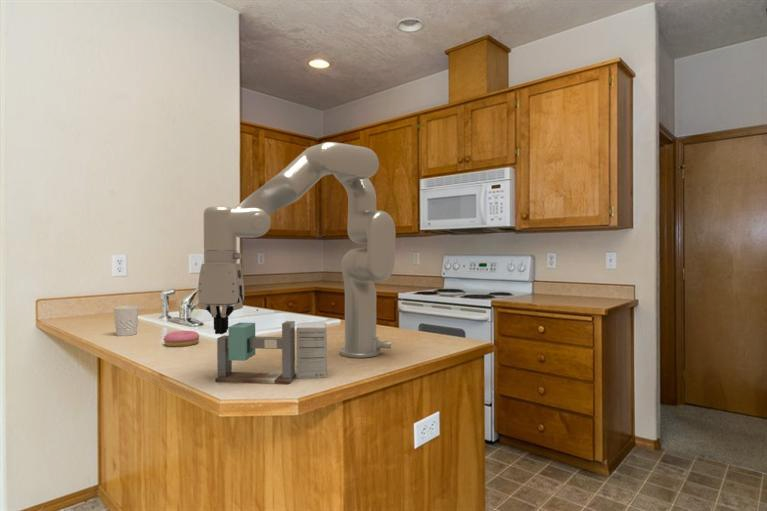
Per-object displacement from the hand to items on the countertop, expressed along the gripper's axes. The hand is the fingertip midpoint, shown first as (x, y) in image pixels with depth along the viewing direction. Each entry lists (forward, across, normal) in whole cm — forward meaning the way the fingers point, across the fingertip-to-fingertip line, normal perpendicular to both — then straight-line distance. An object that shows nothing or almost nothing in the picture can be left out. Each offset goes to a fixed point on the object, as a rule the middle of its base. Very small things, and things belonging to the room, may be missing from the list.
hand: (221, 333), depth 115 cm
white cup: (+11, +60, -52) cm, 80 cm away
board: (+11, -9, 0) cm, 14 cm away
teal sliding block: (+3, -5, 0) cm, 6 cm away
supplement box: (+11, -21, -6) cm, 25 cm away
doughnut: (+12, +31, -38) cm, 50 cm away
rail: (+11, -9, 0) cm, 14 cm away
